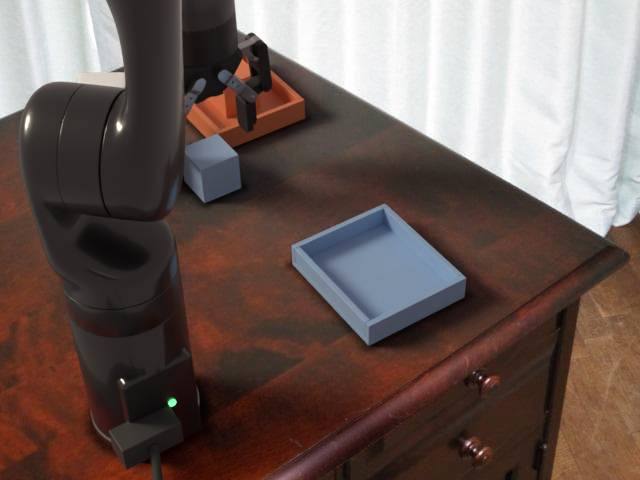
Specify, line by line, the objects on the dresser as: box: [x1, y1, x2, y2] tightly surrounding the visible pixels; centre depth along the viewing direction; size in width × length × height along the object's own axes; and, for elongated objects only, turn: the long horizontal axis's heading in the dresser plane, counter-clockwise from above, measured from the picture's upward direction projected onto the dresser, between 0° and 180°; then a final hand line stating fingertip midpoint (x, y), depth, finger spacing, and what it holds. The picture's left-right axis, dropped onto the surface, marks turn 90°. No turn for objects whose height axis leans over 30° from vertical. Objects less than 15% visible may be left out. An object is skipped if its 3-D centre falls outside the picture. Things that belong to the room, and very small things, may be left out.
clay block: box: [208, 59, 260, 118], centre depth 132 cm, size 4×4×4 cm
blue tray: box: [291, 203, 467, 347], centre depth 111 cm, size 13×11×3 cm
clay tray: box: [185, 56, 306, 149], centre depth 133 cm, size 13×11×3 cm
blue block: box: [183, 134, 242, 204], centre depth 122 cm, size 4×4×4 cm
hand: (210, 142), depth 120 cm, fingers open, 8 cm apart
